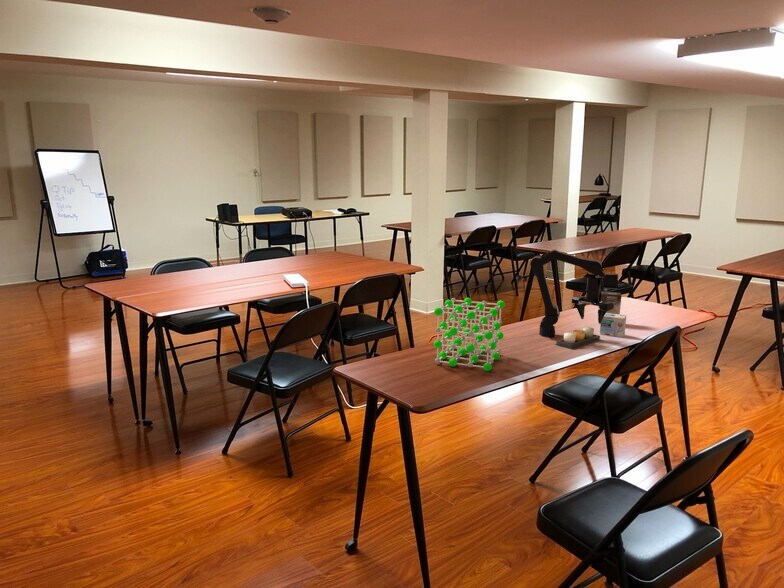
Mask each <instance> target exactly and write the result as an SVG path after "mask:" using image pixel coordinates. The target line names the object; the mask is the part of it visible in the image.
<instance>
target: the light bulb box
mask: <svg viewBox="0 0 784 588" xmlns="http://www.w3.org/2000/svg"><path fill="white" fill-rule="evenodd" d="M626 322H627V315H626V314H611V313H606V314H605V315H604V317H603V319H602V321H601V324H599V326H600V328H599V336H601V335H602V336H609V337H617V338H624V336H625V335H626V326H627V325H626Z"/></svg>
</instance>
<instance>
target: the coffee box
mask: <svg viewBox="0 0 784 588" xmlns="http://www.w3.org/2000/svg"><path fill="white" fill-rule="evenodd" d="M602 293H603V294H605V295H608V297H607V300H606V301H607V302H612V303H613V304H614V309H611V310H609V311H607V312H606V313H611V314H620V313H621V306H622V304H621V303H622V296H623V295H622V293H621V292H616V291H603V290H602ZM600 302H604V301H600ZM620 315H621V314H620ZM600 324H601V323H600ZM600 324H599V325H600Z"/></svg>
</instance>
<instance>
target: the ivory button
mask: <svg viewBox="0 0 784 588" xmlns="http://www.w3.org/2000/svg"><path fill="white" fill-rule="evenodd" d="M575 338H576V334H574V333H573V332H563V339H564V342H565V343H569V344H573V343H575Z"/></svg>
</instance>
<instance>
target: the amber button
mask: <svg viewBox="0 0 784 588" xmlns="http://www.w3.org/2000/svg"><path fill="white" fill-rule="evenodd" d="M572 333H574V334H576V338H575V340H578V341H582V340H584V338H585V331H583V330H582V329H574V330H573V332H572Z"/></svg>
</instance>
